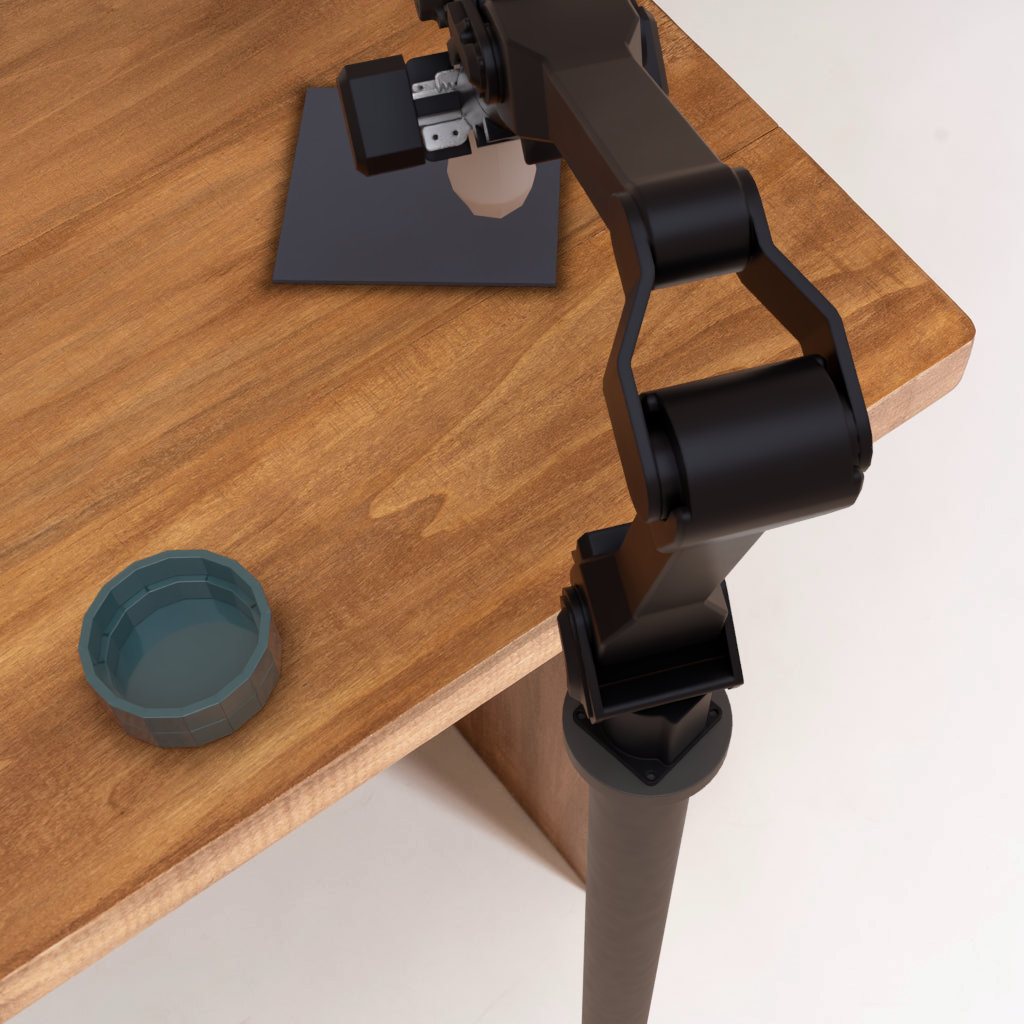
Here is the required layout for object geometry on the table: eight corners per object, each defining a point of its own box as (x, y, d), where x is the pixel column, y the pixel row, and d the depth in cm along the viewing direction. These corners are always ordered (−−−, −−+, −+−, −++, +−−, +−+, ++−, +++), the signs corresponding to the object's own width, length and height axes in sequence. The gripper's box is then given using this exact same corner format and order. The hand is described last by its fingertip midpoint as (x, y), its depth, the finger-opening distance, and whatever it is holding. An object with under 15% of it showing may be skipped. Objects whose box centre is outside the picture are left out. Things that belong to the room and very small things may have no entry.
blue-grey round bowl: (320, 663, 85) (308, 627, 81) (176, 787, 81) (157, 755, 77) (206, 556, 89) (190, 517, 86) (64, 668, 85) (41, 633, 82)
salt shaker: (526, 233, 94) (520, 73, 83) (441, 222, 95) (425, 62, 84) (544, 172, 97) (540, 9, 86) (461, 162, 98) (448, 0, 87)
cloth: (563, 92, 111) (563, 88, 111) (555, 287, 100) (555, 283, 100) (307, 91, 112) (307, 87, 112) (272, 283, 102) (271, 279, 101)
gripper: (664, -115, 76) (600, -53, 91) (316, -48, 73) (310, 4, 89) (702, 100, 78) (633, 125, 93) (366, 171, 76) (351, 185, 91)
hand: (484, 106), depth 91 cm, fingers closed on salt shaker, 3 cm apart
